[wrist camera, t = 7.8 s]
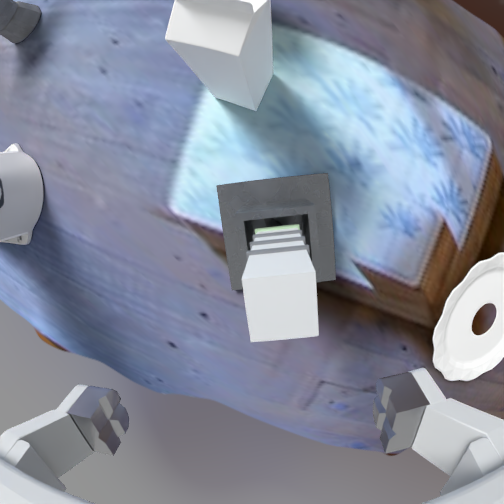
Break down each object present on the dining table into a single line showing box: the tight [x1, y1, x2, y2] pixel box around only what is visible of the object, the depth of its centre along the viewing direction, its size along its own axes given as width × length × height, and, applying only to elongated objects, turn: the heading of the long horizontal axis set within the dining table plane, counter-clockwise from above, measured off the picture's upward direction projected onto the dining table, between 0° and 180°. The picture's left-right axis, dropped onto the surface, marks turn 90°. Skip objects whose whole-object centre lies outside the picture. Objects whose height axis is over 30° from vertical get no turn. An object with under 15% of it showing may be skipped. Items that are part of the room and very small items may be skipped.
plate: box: [432, 252, 504, 381], centre depth 39 cm, size 25×25×2 cm
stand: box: [217, 173, 336, 290], centre depth 34 cm, size 14×14×10 cm
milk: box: [165, 0, 273, 111], centre depth 24 cm, size 6×6×22 cm
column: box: [242, 224, 319, 342], centre depth 24 cm, size 4×4×16 cm
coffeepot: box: [0, 0, 41, 43], centre depth 22 cm, size 15×9×18 cm, turn 146°
